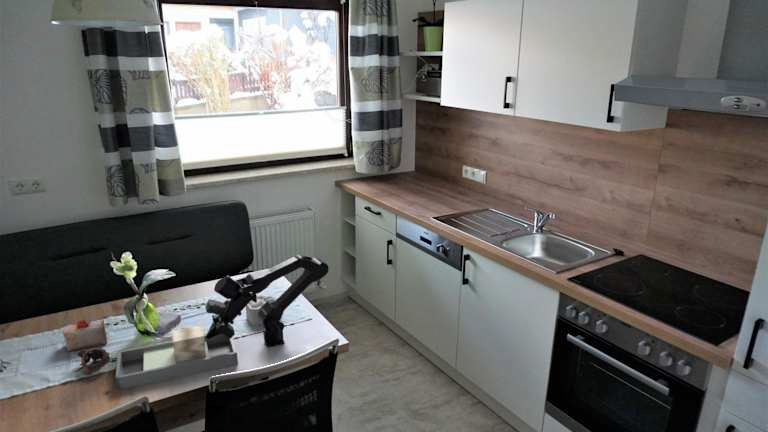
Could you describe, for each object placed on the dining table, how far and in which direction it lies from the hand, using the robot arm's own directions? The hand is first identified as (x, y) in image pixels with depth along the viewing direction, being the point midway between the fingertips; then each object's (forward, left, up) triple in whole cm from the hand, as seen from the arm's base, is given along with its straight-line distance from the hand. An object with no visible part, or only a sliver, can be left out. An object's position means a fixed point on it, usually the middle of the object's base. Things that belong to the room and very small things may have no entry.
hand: (206, 338), depth 182 cm
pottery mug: (+37, -9, -8) cm, 39 cm away
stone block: (+15, -31, -8) cm, 35 cm away
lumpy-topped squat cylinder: (-24, -22, -8) cm, 33 cm away
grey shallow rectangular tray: (+10, 0, -8) cm, 13 cm away
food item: (+41, -26, -8) cm, 49 cm away
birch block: (+6, 0, -5) cm, 8 cm away
